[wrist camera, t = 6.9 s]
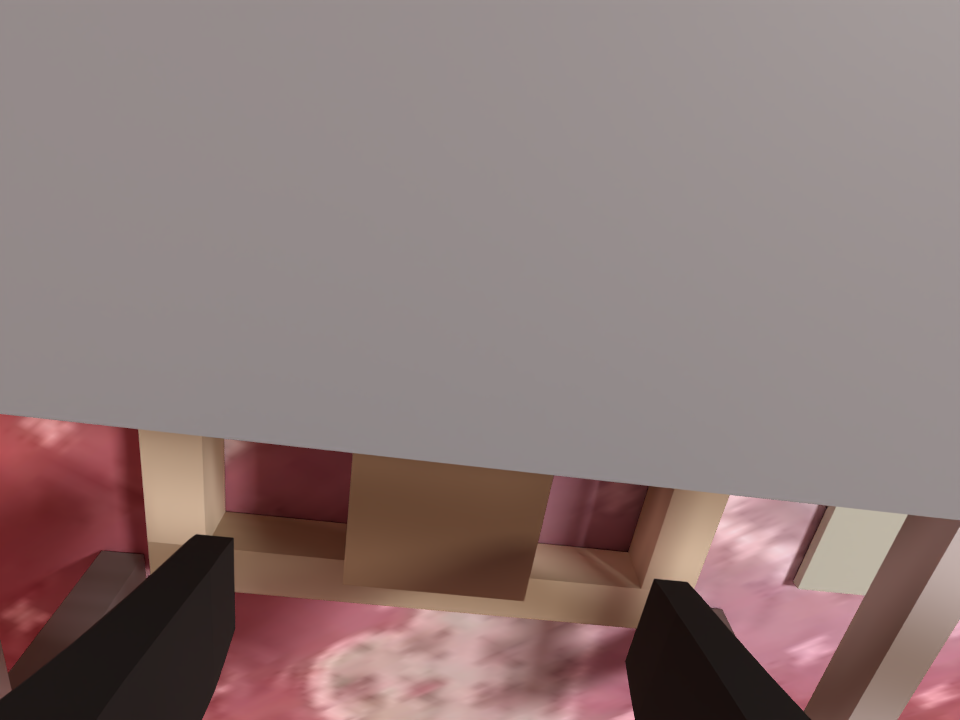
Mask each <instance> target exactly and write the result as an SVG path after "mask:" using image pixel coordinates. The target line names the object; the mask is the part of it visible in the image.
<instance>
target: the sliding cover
mask: <svg viewBox="0 0 960 720" xmlns="http://www.w3.org/2000/svg"><path fill="white" fill-rule="evenodd" d="M0 414H7V415H16V416H25V417H34V418H43V419H52V420H61V421H70V422H79V423H88V424H97V425H106V426H115V427H124V428H133V429H142V430H151V431H160V432H169V433H178V434H187V435H196V436H205V437H214V438H223V439H232V440H241V441H250V442H259V443H268V444H277V445H286V446H295V447H304V448H313V449H322V450H331V451H340V452H349V453H358V454H367V455H376V456H385V457H394V458H403V459H412V460H421V461H430V462H439V463H448V464H457V465H466V466H475V467H484V468H493V469H502V470H511V471H520V472H529V473H538V474H547V475H556V476H565V477H574V478H583V479H592V480H601V481H610V482H619V483H628V484H637V485H646V486H655V487H664V488H673V489H682V490H691V491H700V492H709V493H718V494H727V495H736V496H745V497H754V498H763V499H772V500H781V501H790V502H799V503H808V504H817V505H826V506H835V507H844V508H853V509H862V510H871V511H880V512H889V513H898V514H907V515H916V516H925V517H934V518H943V519H952V520H960V0H0Z"/></svg>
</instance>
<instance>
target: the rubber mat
mask: <svg viewBox="0 0 960 720" xmlns="http://www.w3.org/2000/svg"><path fill="white" fill-rule="evenodd" d="M906 517H907V514H898V513H889V512H880V511H871V510H862V509H853V508H844V507H835V506H828V507H827V509H826V512H825V514H824V516H823V518H822V520H821V522H820V525H819V527H818V529H817V531H816V533H815V535H814V538H813V540H812V542H811V544H810V546H809V548H808V551H807V553H806V555H805V557H804V559H803V561H802V564H801V566H800V568H799V570H798V572H797V574H796V577H795V579H794V581H793V582H794V584H795V585H796V587H797V588H798V589H805V590H815V591H825V592H835V593H845V594H855V595H866V593H867V591H868V589H869V587H870V585H871V583H872V581H873V580H874V578H875V576H876V574H877V572H878V570H879V568H880V566H881V564H882V563H883V561H884V559H885V557H886V555H887V553H888V551H889V549H890V547H891V546H892V544H893V542H894V540H895V538H896V536H897V534H898V532H899V530H900V529H901V527H902V525H903V523H904V521H905V519H906Z"/></svg>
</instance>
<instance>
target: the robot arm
mask: <svg viewBox="0 0 960 720" xmlns="http://www.w3.org/2000/svg"><path fill="white" fill-rule="evenodd" d="M234 630H235V584H234V538H231V537H221V536H211V535H200V534H196V535H194V536H193V537H191V538H190V539H189V540H188V541H186V542H185V543H184V544H183V545H182V546H181V547H180V548H179V549H178V550H177V551H176V552H175V553H174V554H172V555H171V556H170V557H169V558H168V559H167V560H166V561H165V562H164V563H163V564H162V565H161V566H159V567H158V568H157V569H156V570H155V571H154V572H153V573H152V574H151V575H150V576H149V577H147V578H146V579H145V580H144V581H143V582H142V583H141V584H140V585H139V586H137V587H136V588H135V589H134V590H133V591H132V592H131V593H130V594H129V595H127V596H126V597H125V598H124V599H123V600H122V601H121V602H119V603H118V604H117V605H116V606H115V607H114V608H112V609H111V610H110V611H109V612H108V613H107V614H105V615H104V616H103V617H102V618H101V619H100V620H99V621H97V622H96V623H95V624H94V625H93V626H92V627H90V628H89V629H88V630H87V631H86V632H85V633H83V634H82V635H81V636H80V637H79V638H77V639H76V640H75V641H74V642H72V643H71V644H70V645H69V646H67V647H66V648H65V649H64V650H62V651H61V652H60V653H59V654H57V655H56V656H55V657H54V658H52V659H51V660H50V661H49V662H47V663H46V664H45V665H43V666H42V667H41V668H40V669H38V670H37V671H36V672H35V673H33V674H32V675H31V676H30V677H28V678H27V679H26V680H25V681H23V682H22V683H21V684H19V685H18V686H17V687H15V688H14V689H13V690H12V691H10V692H9V693H7V694H6V695H5V696H3V697H2V698H1V699H0V720H202V718H203V716H204V714H205V712H206V709H207V707H208V705H209V703H210V700H211V698H212V696H213V694H214V691H215V688H216V686H217V683H218V680H219V677H220V674H221V671H222V668H223V665H224V662H225V659H226V656H227V652H228V649H229V646H230V643H231V640H232V637H233V634H234ZM625 662H626V669H627V675H628V682H629V688H630V695H631V700H632V706H633V711H634V717H635V720H811V719H810V718H809V717H808V716H807V715H806V713H805V712H804V711H803V710H802V709H801V708H800V707H799V706H798V705H797V704H796V703H795V702H794V701H793V700H792V699H791V698H790V697H789V695H788V694H787V693H786V692H785V691H784V690H783V689H782V688H781V687H780V686H779V685H778V684H777V682H776V681H775V680H774V679H773V678H772V677H771V676H770V675H769V674H768V673H767V671H766V670H765V669H764V668H763V667H762V666H761V665H760V664H759V663H758V661H757V660H756V659H755V658H754V657H753V656H752V655H751V654H750V652H749V651H748V650H747V649H746V648H745V647H744V646H743V644H742V643H741V642H740V641H739V640H738V639H737V638H736V636H735V635H734V634H733V633H732V632H731V631H730V630H729V628H728V627H727V626H726V625H725V624H724V623H723V621H722V620H721V619H720V618H719V617H718V616H717V615H716V613H715V612H714V611H713V610H712V609H711V608H710V607H709V605H708V604H707V603H706V602H705V601H704V600H703V599H702V597H701V596H700V595H699V594H698V593H697V592H696V591H695V590H694V588H693V587H692V586H691V585H690V584H689V583H688V582H684V581H674V580H663V579H654V580H653V583H652V585H651V588H650V591H649V594H648V597H647V600H646V603H645V606H644V609H643V612H642V614H641V617H640V620H639V623H638V626H637V629H636V632H635V635H634V638H633V641H632V643H631V646H630V649H629V652H628V655H627V658H626V661H625Z"/></svg>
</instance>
